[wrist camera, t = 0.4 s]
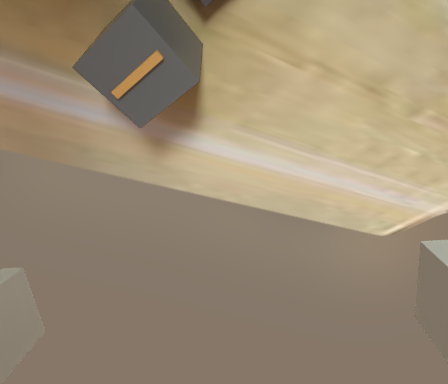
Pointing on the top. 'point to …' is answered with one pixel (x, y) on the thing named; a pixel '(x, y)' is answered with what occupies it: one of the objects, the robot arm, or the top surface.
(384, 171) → the top surface
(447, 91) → the top surface
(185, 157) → the top surface
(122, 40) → the gray block
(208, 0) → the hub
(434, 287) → the robot arm
